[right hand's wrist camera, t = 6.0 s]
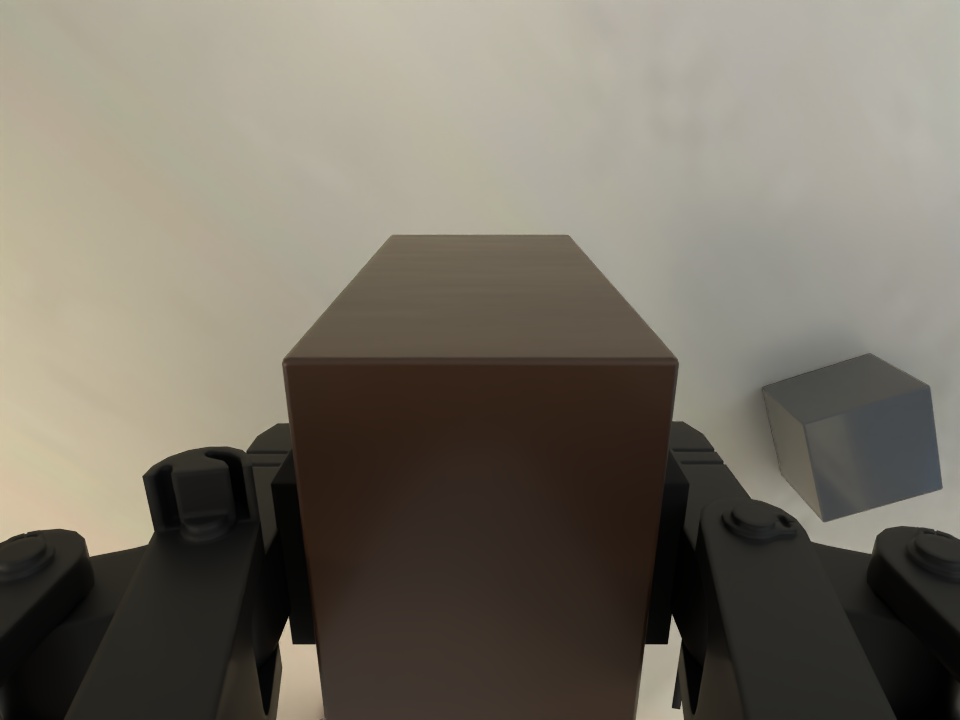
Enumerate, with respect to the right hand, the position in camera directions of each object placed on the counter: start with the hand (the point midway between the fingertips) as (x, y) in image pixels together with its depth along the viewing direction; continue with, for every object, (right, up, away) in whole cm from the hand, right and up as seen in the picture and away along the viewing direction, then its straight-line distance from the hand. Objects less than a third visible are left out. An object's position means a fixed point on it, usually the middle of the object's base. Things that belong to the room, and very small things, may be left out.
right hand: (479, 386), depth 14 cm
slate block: (+16, -2, +14) cm, 22 cm away
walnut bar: (0, -8, +3) cm, 9 cm away
